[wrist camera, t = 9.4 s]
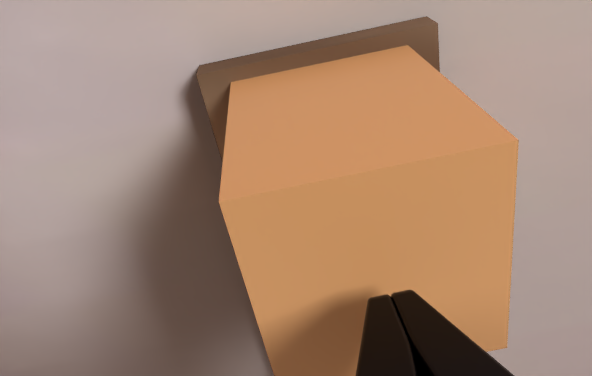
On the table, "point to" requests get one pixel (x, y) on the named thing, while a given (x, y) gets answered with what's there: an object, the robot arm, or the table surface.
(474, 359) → the robot arm
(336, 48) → the board
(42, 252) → the table surface
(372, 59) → the orange block
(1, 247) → the table surface
